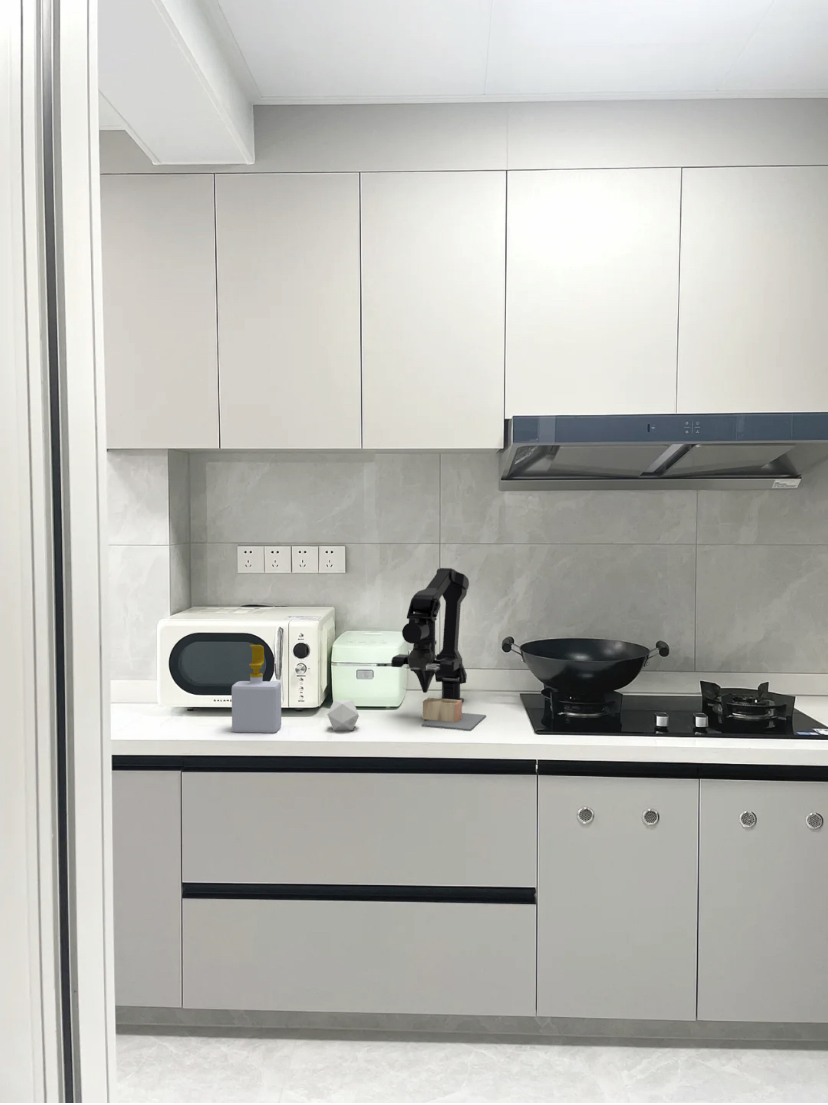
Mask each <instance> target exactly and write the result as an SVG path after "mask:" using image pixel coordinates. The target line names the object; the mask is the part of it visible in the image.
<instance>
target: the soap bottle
mask: <svg viewBox="0 0 828 1105" xmlns="http://www.w3.org/2000/svg"><path fill="white" fill-rule="evenodd" d="M249 647H250V648H251V652H252V654H251V657H252V658H251V663H249V664H248V666H249V667H250V669H252V672H251V673H250V674H249V680H240V681H237V682H235V683H234V684H232V686H231V730H232V732H233V733H254V734H255V733H264V734H268V733H269V734H273V733H274V734H275V733H277V732H278V731H279V730H280V728H282V684H281V682H280V681H266V680H265V681H263V676H264V675H263V673H262V672H260V669H262V667H263V666H262V665H264V664H265V648H264V646H263V645H261V644H249Z"/></svg>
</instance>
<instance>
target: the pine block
mask: <svg viewBox="0 0 828 1105" xmlns="http://www.w3.org/2000/svg"><path fill="white" fill-rule="evenodd" d="M462 713H463V701H462V700H452V699H441V698H439V697H438V698H437V697H427V698H426V699H424V700H423V701H422V720H439V721H450V722H457V721H459V720H460V719H461V718H462Z"/></svg>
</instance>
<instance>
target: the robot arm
mask: <svg viewBox="0 0 828 1105" xmlns="http://www.w3.org/2000/svg"><path fill="white" fill-rule="evenodd" d="M469 585H470V582H469V578H468V577H467V575H465V574H464V573H462V572H459V571H456V570H455V569H454V568H452V567H449V568H448V567H440V568H437V570H436V574H435V575H434V576H433V578H432V579H431V580H430V582H429V584H428V585H427V586H426V588H424V589H421V590H419V591H417V592H416V593H415V594H414V595H413V596H412V598H411V599H410V603H409V608H408V609H407V610H408V611H407V614H406V619H407V620H408V623H406V624H405V625H404V626H403V628H402V631H401V634H402V638H403V640H404V641H405V642H407V643H409V644H413V645H412V646H413V647H412V650H411V651H410V653H409V654H404V653H403V654H401V653H399V654H397V655H394V656H393V657H392V658H391V662H390V663H391V664H390V666H391V667H392V668H402V667H403V666H404V665H408V668H410V669H409V670H410V671H411V672H413V673H414V674H415V675H416V677H417V679H418V682H419V685H420V687H421V690H422V692H423V693H424V694H427V693H428V690H429V688H430V685H431V683H432V680H433V678H434V677H435V682H436V683H441V698H440V699H452V700H462V702H463V701H464V699H465V698H464V697H461V685H462V684H466V683H467V678H468V677H467V676H468V675H467V672H466V669H465V667H464V663H463V657H462V655H461V654H460V652H459V635H460V620H461V605H462V602H463V601H464V599H465V598H466V597H467V595H468V594H467V592H468V589H469V587H470V586H469ZM441 597H443V600H444V601H445V608H444V621H443V622H444V624H443V638H442V648H441V651H440V652H439V653H437V654H436V645H437V640H436V621H437V617H438V614H439V611H440V608H441V601H440V599H441Z"/></svg>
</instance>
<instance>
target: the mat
mask: <svg viewBox="0 0 828 1105" xmlns="http://www.w3.org/2000/svg"><path fill="white" fill-rule="evenodd" d="M486 717H487V715H486V714H479V713H471V712H470V713H469V712H462V718H461V719H460V720H459V721H457V722H450V721H439V720H428V719H426V720H425V721H424V722H422V723H421V727H425V728H436V729H437V728H438V729H444V730H445V729H448V730H456V731H457V730H458V731H466V732H467V731H468V732H471V731H472V730H473V729H475V728H476V727H477V726H478V725H479V724H480V723H481V722H482V721H483V720H484V719H485V718H486Z"/></svg>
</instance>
